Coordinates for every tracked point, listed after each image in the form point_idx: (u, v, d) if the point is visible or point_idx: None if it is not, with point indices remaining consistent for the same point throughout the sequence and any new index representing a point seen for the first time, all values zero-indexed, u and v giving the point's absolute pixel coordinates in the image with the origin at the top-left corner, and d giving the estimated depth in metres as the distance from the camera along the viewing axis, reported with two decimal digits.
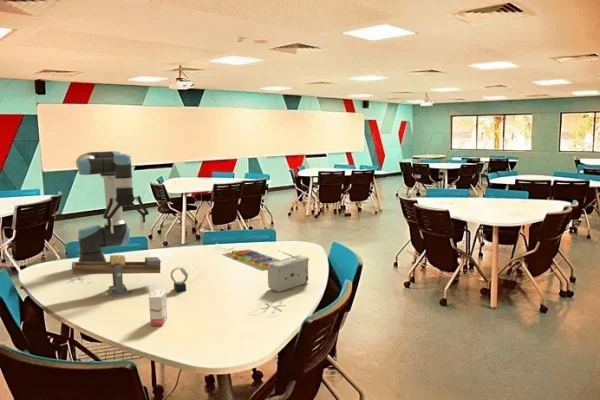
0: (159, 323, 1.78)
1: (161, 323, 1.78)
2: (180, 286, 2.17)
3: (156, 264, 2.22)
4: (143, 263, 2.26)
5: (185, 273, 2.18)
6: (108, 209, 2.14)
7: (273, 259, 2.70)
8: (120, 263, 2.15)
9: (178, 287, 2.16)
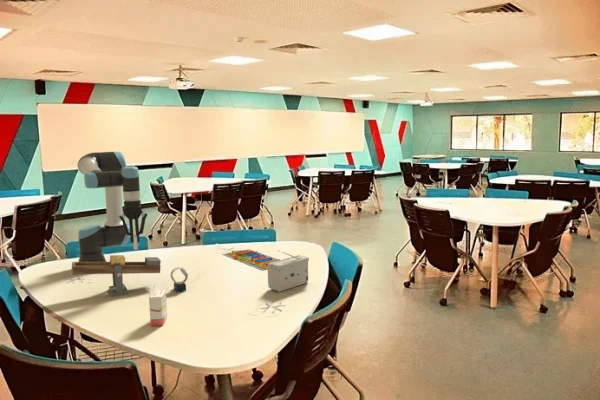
0: (159, 323, 1.78)
1: (161, 323, 1.78)
2: (180, 286, 2.17)
3: (156, 264, 2.22)
4: (143, 263, 2.26)
5: (185, 273, 2.18)
6: (125, 226, 2.15)
7: (273, 259, 2.70)
8: (120, 263, 2.15)
9: (178, 287, 2.16)
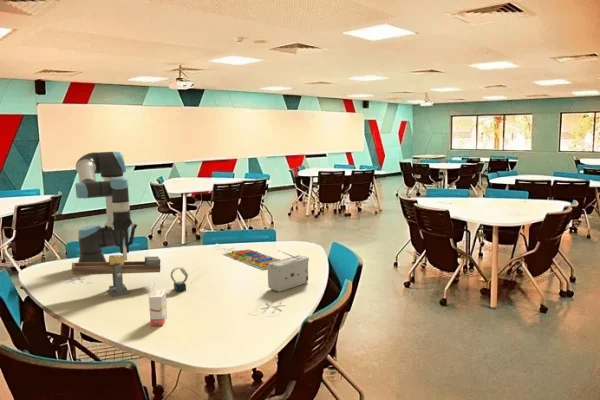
0: (159, 323, 1.78)
1: (161, 323, 1.78)
2: (180, 286, 2.17)
3: (156, 263, 2.22)
4: (143, 263, 2.26)
5: (185, 273, 2.18)
6: (114, 237, 2.14)
7: (273, 259, 2.70)
8: (119, 263, 2.15)
9: (178, 287, 2.16)
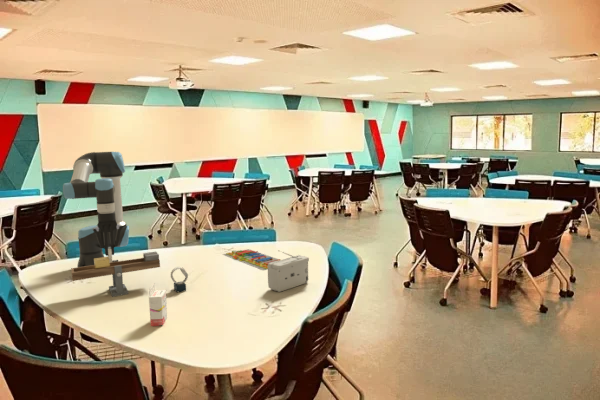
0: (159, 323, 1.78)
1: (161, 323, 1.78)
2: (180, 286, 2.17)
3: (155, 259, 2.22)
4: (142, 259, 2.26)
5: (185, 273, 2.18)
6: (99, 239, 2.11)
7: (273, 259, 2.71)
8: (105, 265, 2.12)
9: (178, 287, 2.16)
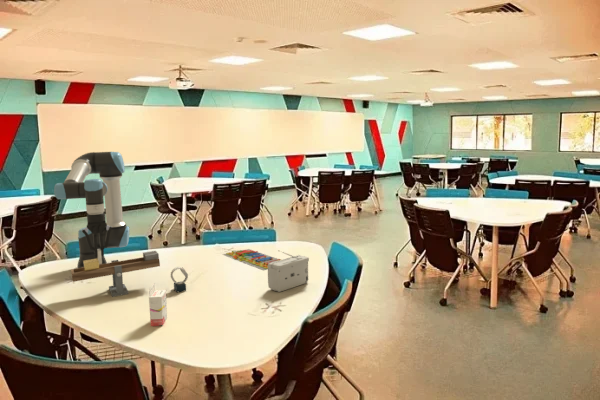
0: (159, 323, 1.78)
1: (161, 323, 1.78)
2: (180, 286, 2.17)
3: (154, 258, 2.22)
4: (142, 259, 2.26)
5: (185, 273, 2.18)
6: (88, 240, 2.09)
7: (273, 258, 2.71)
8: (94, 267, 2.10)
9: (178, 287, 2.16)
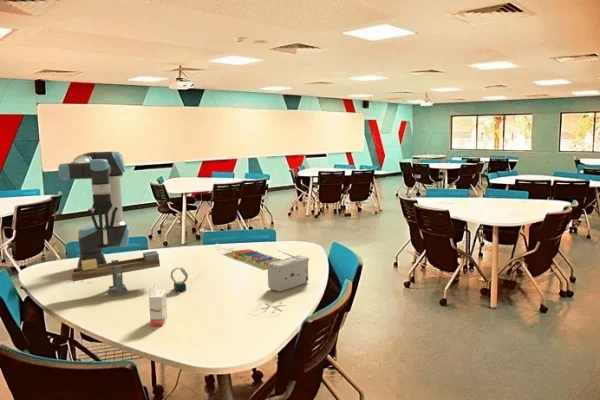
0: (159, 323, 1.78)
1: (161, 323, 1.78)
2: (180, 286, 2.17)
3: (155, 258, 2.22)
4: (142, 259, 2.26)
5: (185, 273, 2.18)
6: (94, 220, 2.09)
7: (274, 258, 2.71)
8: (92, 268, 2.09)
9: (178, 287, 2.16)
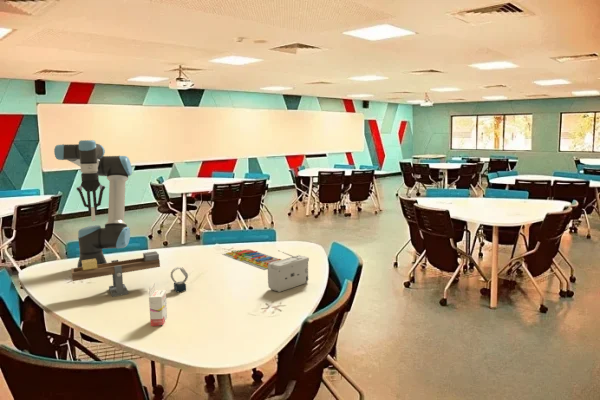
0: (159, 323, 1.78)
1: (161, 323, 1.78)
2: (180, 286, 2.17)
3: (155, 258, 2.22)
4: (142, 259, 2.26)
5: (185, 273, 2.18)
6: (82, 197, 2.21)
7: (274, 258, 2.71)
8: (92, 267, 2.09)
9: (178, 287, 2.16)
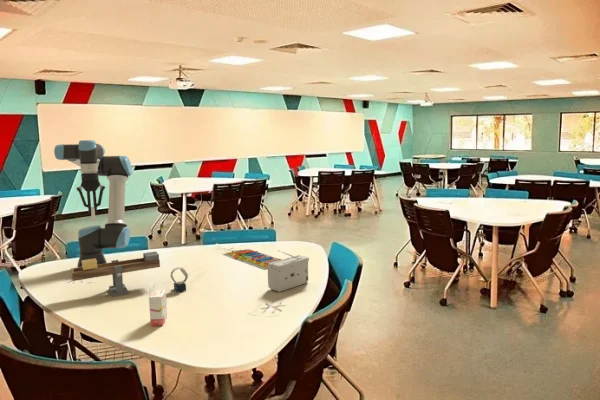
0: (159, 323, 1.78)
1: (161, 323, 1.78)
2: (180, 286, 2.17)
3: (155, 259, 2.22)
4: (142, 259, 2.26)
5: (185, 273, 2.18)
6: (82, 197, 2.21)
7: (274, 258, 2.71)
8: (92, 267, 2.09)
9: (178, 287, 2.16)
